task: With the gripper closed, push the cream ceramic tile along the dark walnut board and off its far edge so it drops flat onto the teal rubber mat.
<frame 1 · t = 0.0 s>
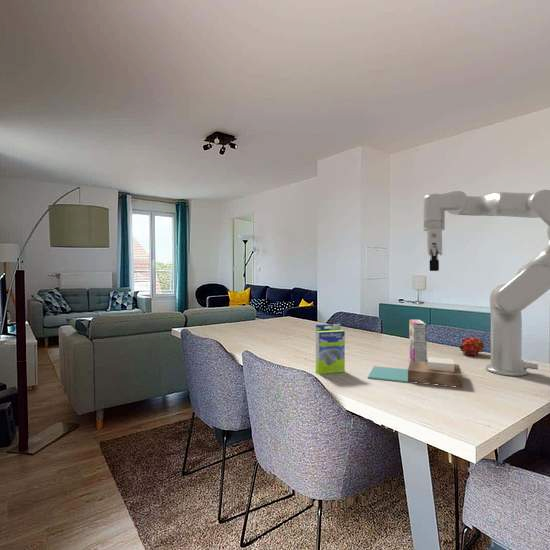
hand: (434, 270, 142), 37 cm above the table, tool pointing down, fingers open, 9 cm apart
box: (330, 372, 134), on the table
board: (434, 379, 124), on the table
candy bar box: (417, 362, 148), on the table
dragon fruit: (471, 355, 159), on the table
mat: (389, 374, 130), on the table
tile: (440, 367, 124), point 4 cm above the table, touching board
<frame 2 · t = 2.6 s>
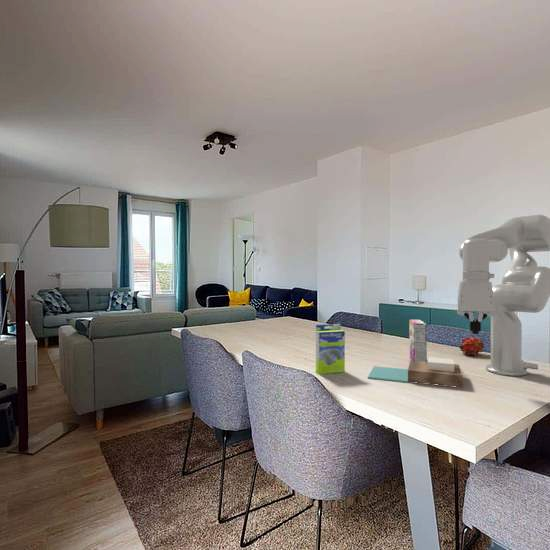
hand: (475, 333, 119), 16 cm above the table, tool pointing down, fingers closed
nothing on the table moved.
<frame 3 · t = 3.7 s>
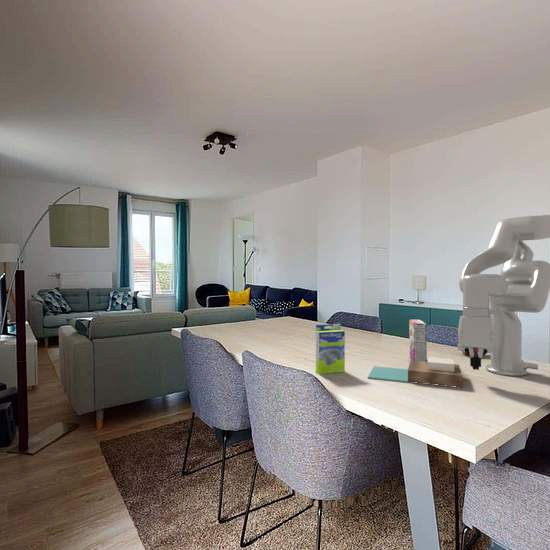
hand: (475, 368, 119), 5 cm above the table, tool pointing down, fingers closed
nothing on the table moved.
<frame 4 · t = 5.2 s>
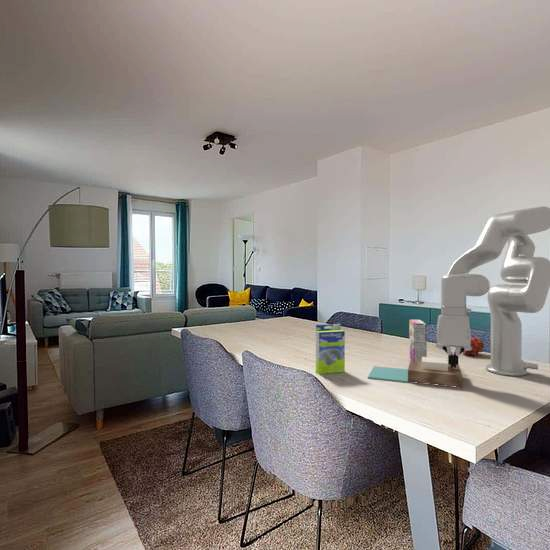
hand: (453, 366, 122), 5 cm above the table, tool pointing down, fingers closed
tile: (434, 367, 124), point 4 cm above the table, touching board
everything else where it was.
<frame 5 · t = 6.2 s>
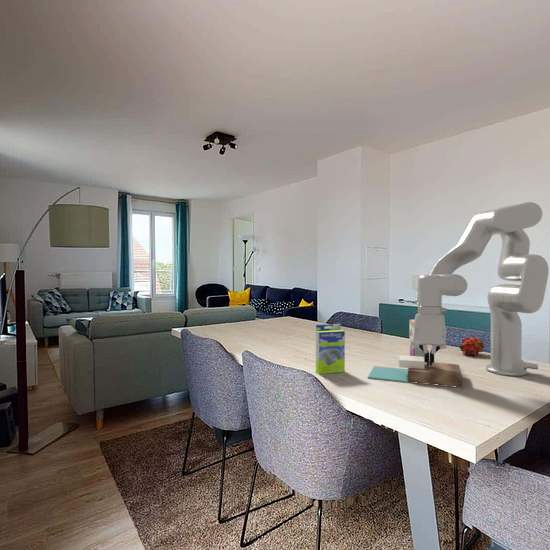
hand: (429, 364, 125), 5 cm above the table, tool pointing down, fingers closed
tile: (411, 365, 127), point 4 cm above the table, touching gripper
everything else where it was.
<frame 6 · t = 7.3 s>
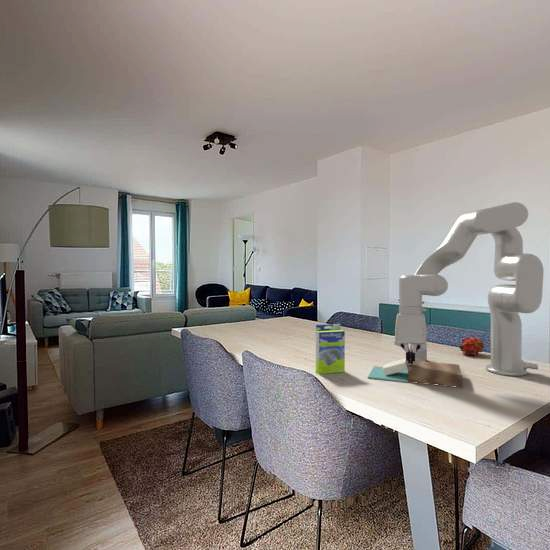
hand: (410, 363, 127), 5 cm above the table, tool pointing down, fingers closed
tile: (397, 370, 129), point 2 cm above the table, tilted 21°, touching gripper
everything else where it was.
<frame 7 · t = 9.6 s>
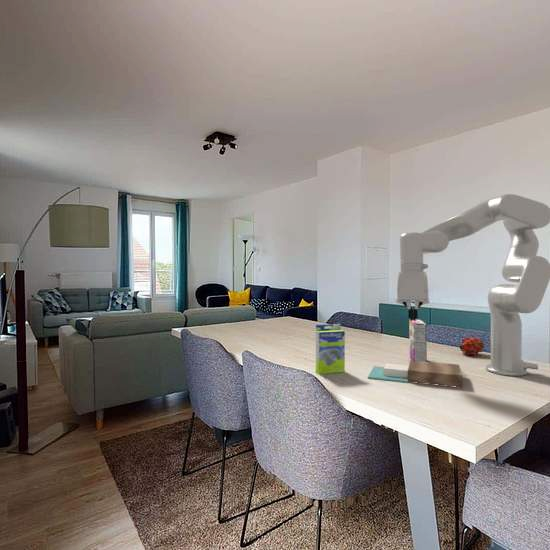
hand: (413, 320, 128), 20 cm above the table, tool pointing down, fingers closed
tile: (396, 374, 129), resting on mat
everything else where it was.
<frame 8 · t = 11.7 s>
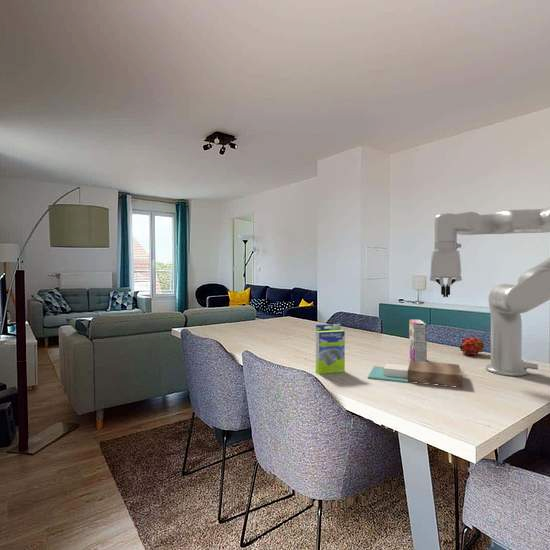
hand: (445, 296, 136), 27 cm above the table, tool pointing down, fingers closed
nothing on the table moved.
at the end: tile inside the target area (2.8 cm from its centre), point 0.5 cm above the table; tile tilted 0° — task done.
